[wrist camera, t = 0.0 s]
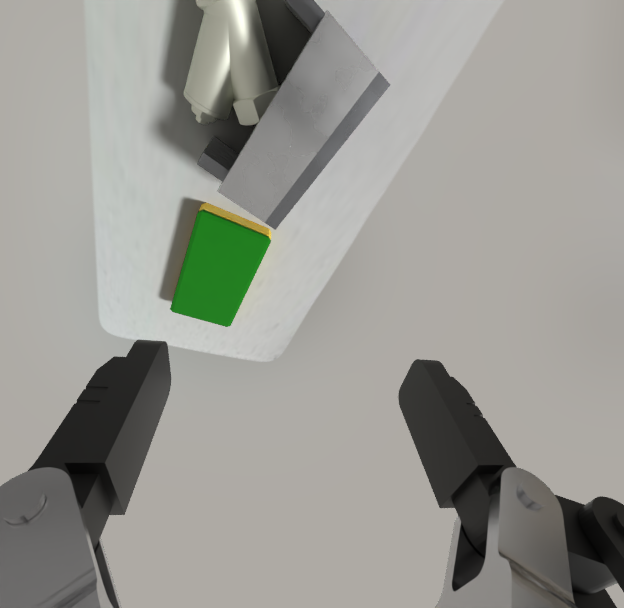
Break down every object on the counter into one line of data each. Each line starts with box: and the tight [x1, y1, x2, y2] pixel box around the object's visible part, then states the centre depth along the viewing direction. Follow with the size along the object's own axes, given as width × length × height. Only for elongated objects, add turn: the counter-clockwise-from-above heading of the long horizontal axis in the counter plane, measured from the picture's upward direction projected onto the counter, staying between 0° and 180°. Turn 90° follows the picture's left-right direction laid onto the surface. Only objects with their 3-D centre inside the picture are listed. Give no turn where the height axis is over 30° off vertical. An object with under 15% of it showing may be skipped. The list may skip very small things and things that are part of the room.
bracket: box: [197, 0, 390, 229], centre depth 22 cm, size 12×7×6 cm, turn 141°
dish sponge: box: [170, 203, 271, 327], centre depth 33 cm, size 7×14×2 cm, turn 152°
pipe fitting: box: [184, 0, 280, 126], centre depth 20 cm, size 8×4×7 cm
